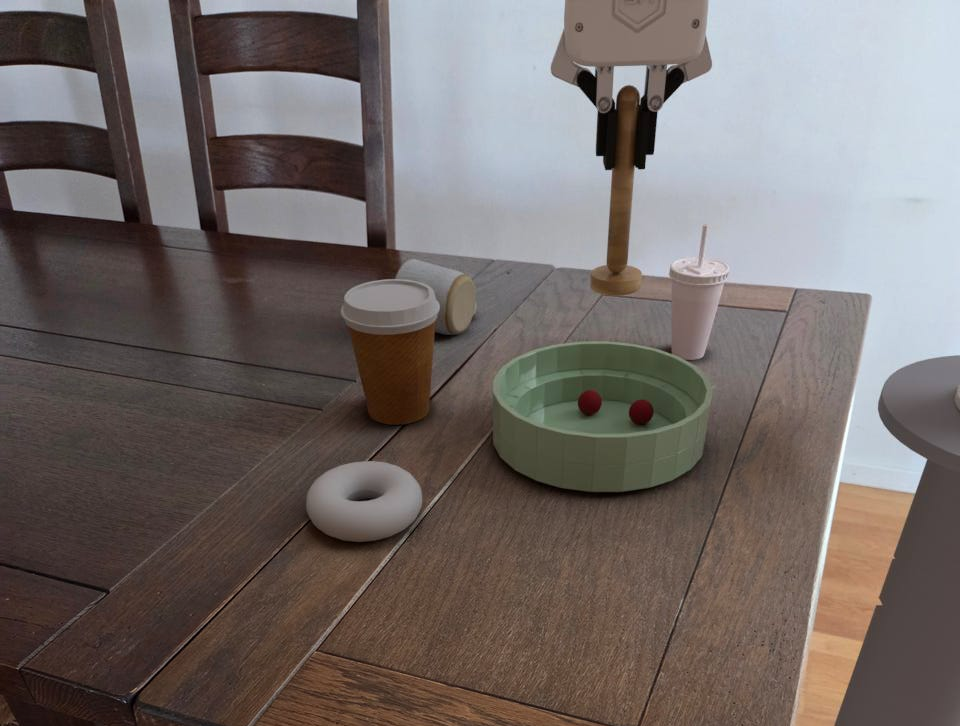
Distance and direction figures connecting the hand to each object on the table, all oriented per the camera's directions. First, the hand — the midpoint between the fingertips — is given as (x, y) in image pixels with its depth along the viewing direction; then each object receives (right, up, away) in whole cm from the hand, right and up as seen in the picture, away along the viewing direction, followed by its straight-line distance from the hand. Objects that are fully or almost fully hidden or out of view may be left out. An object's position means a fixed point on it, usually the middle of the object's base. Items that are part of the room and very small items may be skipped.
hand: (623, 163), depth 72 cm
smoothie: (+12, -6, +30) cm, 33 cm away
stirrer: (0, -7, +6) cm, 10 cm away
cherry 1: (-1, -15, +17) cm, 23 cm away
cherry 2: (+4, -16, +16) cm, 23 cm away
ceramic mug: (-16, 0, +38) cm, 42 cm away
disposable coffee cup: (-20, -15, +21) cm, 32 cm away
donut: (-21, -28, +6) cm, 36 cm away
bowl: (0, -19, +15) cm, 24 cm away
